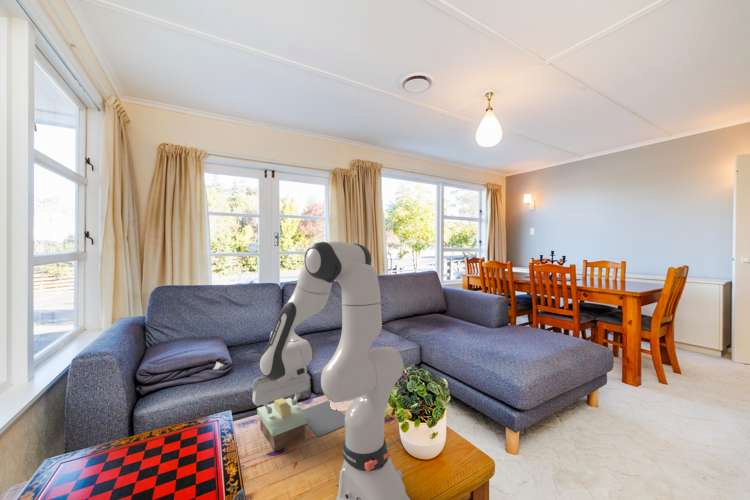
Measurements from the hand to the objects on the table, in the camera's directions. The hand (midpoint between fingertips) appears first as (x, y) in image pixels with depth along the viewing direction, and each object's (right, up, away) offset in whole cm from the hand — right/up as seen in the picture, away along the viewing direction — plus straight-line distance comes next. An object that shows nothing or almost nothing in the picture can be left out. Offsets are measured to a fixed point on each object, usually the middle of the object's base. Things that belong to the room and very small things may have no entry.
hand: (282, 408), depth 109 cm
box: (0, -9, 0) cm, 9 cm away
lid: (0, -4, 0) cm, 4 cm away
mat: (+14, -9, +10) cm, 19 cm away
